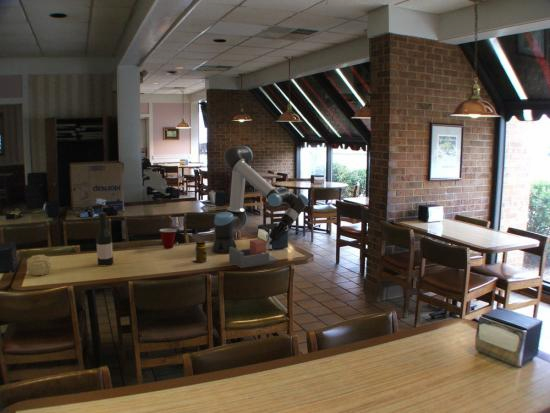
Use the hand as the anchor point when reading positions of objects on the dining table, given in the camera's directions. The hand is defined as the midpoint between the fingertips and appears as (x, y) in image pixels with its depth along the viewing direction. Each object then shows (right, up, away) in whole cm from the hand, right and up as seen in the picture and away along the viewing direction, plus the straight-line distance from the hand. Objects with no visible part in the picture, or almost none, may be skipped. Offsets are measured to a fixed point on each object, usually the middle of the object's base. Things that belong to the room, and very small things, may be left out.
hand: (265, 248), depth 282 cm
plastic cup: (-62, -2, +27) cm, 68 cm away
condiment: (-38, -8, -2) cm, 39 cm away
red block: (-4, -5, -1) cm, 7 cm away
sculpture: (-120, -12, -24) cm, 123 cm away
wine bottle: (-91, -9, -7) cm, 92 cm away
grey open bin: (-7, -8, -2) cm, 10 cm away
